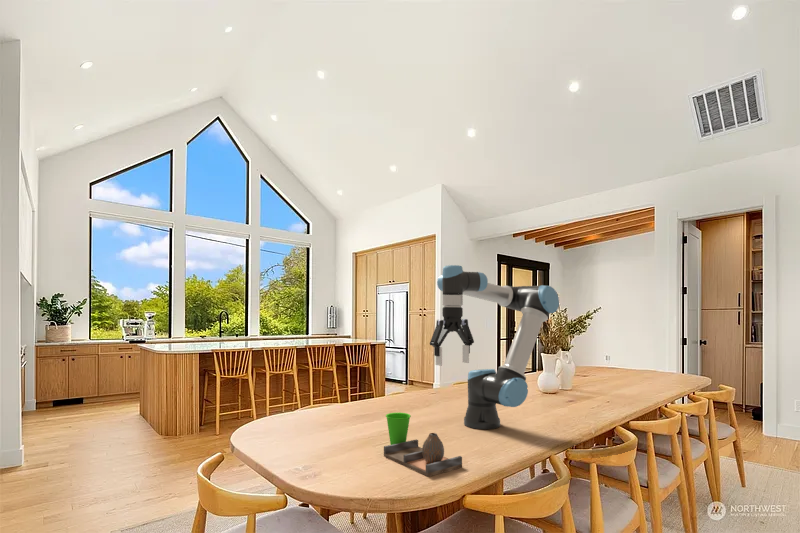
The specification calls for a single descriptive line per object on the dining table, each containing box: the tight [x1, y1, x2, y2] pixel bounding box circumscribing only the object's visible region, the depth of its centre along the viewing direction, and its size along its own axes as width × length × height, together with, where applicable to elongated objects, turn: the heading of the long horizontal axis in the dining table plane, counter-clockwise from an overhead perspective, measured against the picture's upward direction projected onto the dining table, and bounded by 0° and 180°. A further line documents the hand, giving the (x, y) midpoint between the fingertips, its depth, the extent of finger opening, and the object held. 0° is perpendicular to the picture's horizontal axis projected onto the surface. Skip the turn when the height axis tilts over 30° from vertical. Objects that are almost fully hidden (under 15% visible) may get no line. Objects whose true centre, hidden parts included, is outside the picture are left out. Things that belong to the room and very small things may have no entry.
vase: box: [421, 432, 445, 464], centre depth 150 cm, size 7×7×9 cm
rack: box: [383, 438, 463, 478], centre depth 154 cm, size 14×23×3 cm, turn 37°
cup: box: [385, 412, 412, 445], centre depth 169 cm, size 9×9×11 cm
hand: (452, 364), depth 176 cm, fingers open, 13 cm apart
